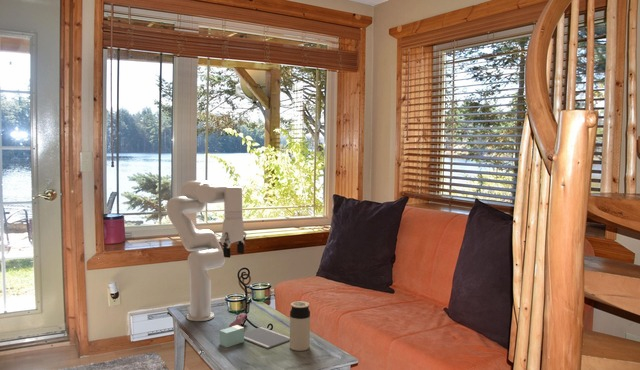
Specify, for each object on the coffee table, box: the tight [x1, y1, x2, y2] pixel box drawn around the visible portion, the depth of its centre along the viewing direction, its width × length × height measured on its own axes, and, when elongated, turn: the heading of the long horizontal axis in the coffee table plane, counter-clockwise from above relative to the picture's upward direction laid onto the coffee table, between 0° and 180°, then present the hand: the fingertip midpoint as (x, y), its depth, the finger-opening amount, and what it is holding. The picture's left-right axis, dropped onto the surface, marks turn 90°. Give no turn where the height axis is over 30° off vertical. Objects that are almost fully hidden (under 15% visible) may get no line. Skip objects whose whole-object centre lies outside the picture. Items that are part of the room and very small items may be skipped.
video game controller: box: [228, 312, 248, 328], centre depth 248 cm, size 10×5×7 cm, turn 169°
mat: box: [244, 326, 290, 350], centre depth 234 cm, size 20×14×1 cm
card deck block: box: [219, 325, 245, 348], centre depth 227 cm, size 4×9×6 cm, turn 137°
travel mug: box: [289, 300, 311, 352], centre depth 223 cm, size 8×8×18 cm
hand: (233, 255), depth 237 cm, fingers open, 9 cm apart
